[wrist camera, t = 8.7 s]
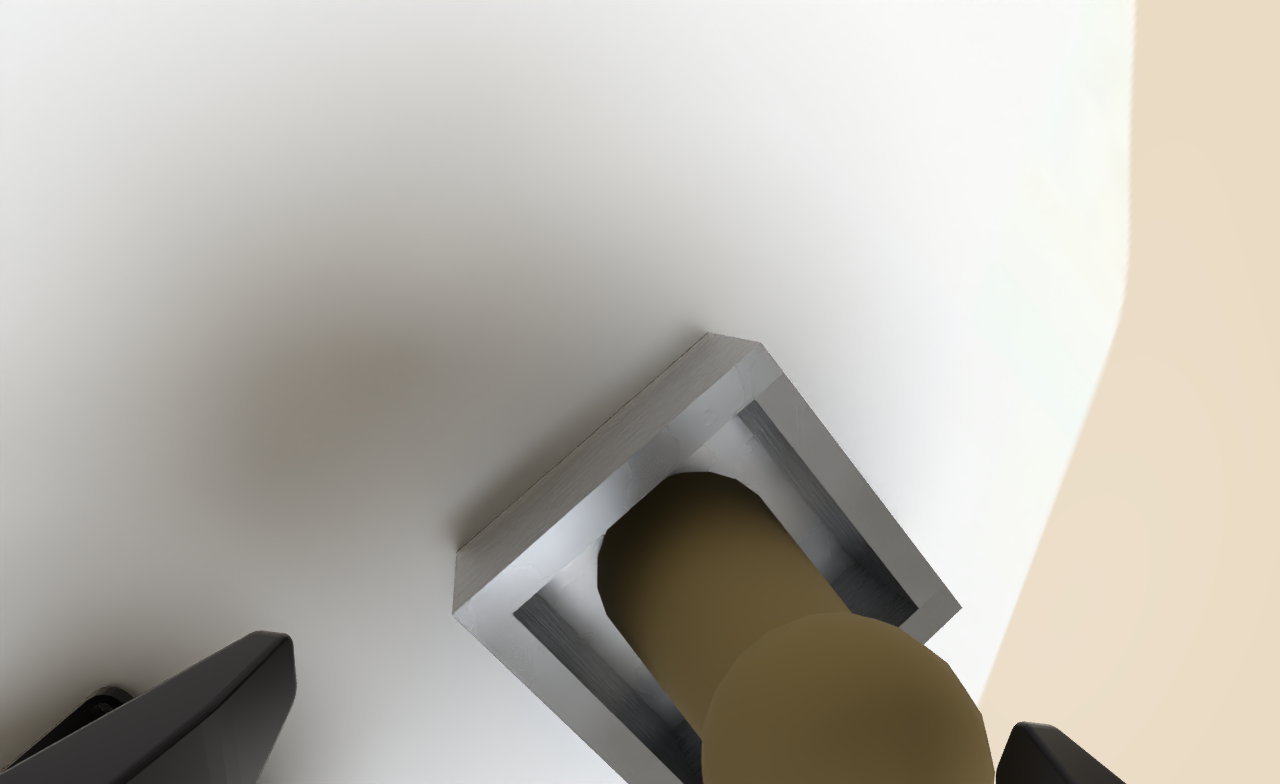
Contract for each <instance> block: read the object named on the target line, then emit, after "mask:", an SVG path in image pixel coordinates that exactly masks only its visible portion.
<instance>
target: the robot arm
mask: <svg viewBox="0 0 1280 784" xmlns="http://www.w3.org/2000/svg"><path fill="white" fill-rule="evenodd" d="M296 688H297V682H296V670H295V659H294V647H293V641H292V639H291V637H290V636H289V635H287V634H285V633H278V632H269V631H255V632H252V633H250V634H248V635H246V636H245V637H243V638H241V639H239V640H237V641H236V642H234V643H232V644H230V645H229V646H227V647H225V648H223V649H221V650H220V651H218V652H216V653H214V654H212V655H211V656H209V657H207V658H205V659H204V660H202V661H200V662H198V663H196V664H195V665H193V666H191V667H189V668H188V669H186V670H184V671H182V672H180V673H179V674H177V675H175V676H173V677H172V678H170V679H168V680H166V681H164V682H163V683H161V684H159V685H157V686H156V687H154V688H152V689H150V690H148V691H147V692H145V693H143V694H141V695H139V696H138V697H136V698H133V697H132V696H131V695H130V694H128V693H127V692H126V691H124V690H122V689H120V688H118V687H112V686H109V687H104V688H101V689H99V690H97V691H95V692H94V693H93V694H92V695H91V696H89V697H88V698H87V699H86V700H85V701H83V702H82V703H81V704H80V705H79V706H78V707H76V708H75V709H74V710H73V711H72V712H71V713H69V714H68V715H67V716H66V717H65V718H63V719H62V720H61V721H60V722H59V723H58V724H56V725H55V726H54V727H53V728H52V729H50V730H49V731H48V732H47V733H46V734H45V735H43V736H42V737H41V738H40V739H39V740H38V741H36V742H35V743H34V744H33V745H32V746H30V747H29V748H28V749H27V750H26V751H25V752H23V753H22V754H21V755H20V756H19V757H18V758H16V759H15V760H14V761H13V762H12V763H10V764H9V765H8V766H7V767H6V768H5V769H3V770H2V771H1V772H0V784H256V783H257V781H258V779H259V777H260V775H261V773H262V770H263V768H264V766H265V764H266V762H267V759H268V757H269V755H270V753H271V751H272V749H273V746H274V744H275V742H276V740H277V738H278V736H279V733H280V731H281V729H282V727H283V725H284V723H285V720H286V718H287V716H288V714H289V712H290V710H291V707H292V705H293V702H294V699H295V695H296ZM99 703H106V704H108V705H110V706H111V707H112V708H113V711H111V712H105V711H103V710H102V709H101V708H100V707H99ZM996 784H1126V783H1125V782H1123V781H1122V780H1121V779H1120V778H1118V777H1117V776H1116V775H1115V774H1113V773H1112V772H1111V771H1110V770H1108V769H1107V768H1106V767H1105V766H1103V765H1102V764H1101V763H1100V762H1098V761H1097V760H1096V759H1095V758H1094V757H1092V756H1091V755H1090V754H1089V753H1087V752H1086V751H1085V750H1084V749H1082V748H1081V747H1080V746H1079V745H1077V744H1076V743H1075V742H1074V741H1072V740H1071V739H1070V738H1069V737H1068V736H1066V735H1065V734H1063V733H1062V732H1061V731H1060V730H1059V729H1057V728H1055V727H1054V726H1051V725H1047V724H1040V723H1032V722H1019V723H1017V724H1016V725H1015V726H1014V727H1013V729H1012V731H1011V734H1010V736H1009V739H1008V741H1007V744H1006V746H1005V749H1004V752H1003V754H1002V757H1001V759H1000V762H999V764H998V767H997V771H996Z"/></svg>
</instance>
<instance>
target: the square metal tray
mask: <svg viewBox="0 0 1280 784" xmlns="http://www.w3.org/2000/svg"><path fill="white" fill-rule="evenodd" d="M690 472H713V473H716V474H720V475H723V476H726V477H730V478H733V479H737V480H738V481H740V482H741V483H742V484H744V485H745V486H747V487H748V488H749V489H751V490H752V491H754V492H755V493H756V494H758V495H759V496H760V497H761V498H762V500H763V501H764V502H765V504H766V505H767V506H768V507H769V509H770V510H771V511H772V512H773V514H774V515H775V516H776V517H777V519H778V520H779V521H780V522H781V524H782V525H783V526H784V528H785V529H786V530H787V531H788V533H789V534H790V535H791V536H792V538H793V539H794V540H795V541H796V543H797V544H798V545H799V547H800V548H801V549H802V550H803V552H804V553H805V554H806V555H807V557H808V558H809V559H810V560H811V562H812V563H813V564H814V565H815V567H816V568H817V569H818V571H819V572H820V573H821V574H822V576H823V577H824V578H825V579H826V581H827V582H828V583H829V584H830V586H831V587H832V588H833V590H834V591H835V592H836V593H837V595H838V596H839V597H840V598H841V600H842V601H843V602H844V603H845V605H846V606H847V607H848V609H849V610H850V611H851V612H852V614H856V615H860V616H864V617H868V618H873V619H877V620H879V621H882V622H885V623H888V624H891V625H893V626H896V627H899V628H900V629H901V630H903V631H904V632H906V633H907V634H909V635H910V636H911V637H913V638H914V639H916V640H917V641H918V642H920V643H921V644H923V645H924V644H925V643H926V642H927V641H928V640H929V639H930V638H931V637H932V636H933V635H934V634H935V633H936V632H937V631H938V630H939V629H940V628H941V627H943V626H944V625H945V624H946V623H947V622H948V621H949V620H950V619H951V618H952V617H953V616H954V615H955V614H956V613H957V612H958V611H959V610H960V609H961V608H962V607H961V606H960V604H959V603H958V602H957V600H956V599H955V598H954V596H953V595H952V594H951V592H950V591H949V590H948V588H947V587H946V586H945V584H944V583H943V582H942V581H941V579H940V578H939V577H938V575H937V574H936V573H935V571H934V570H933V569H932V567H931V566H930V565H929V563H928V562H927V561H926V559H925V558H924V557H923V556H922V554H921V553H920V552H919V550H918V549H917V548H916V546H915V545H914V544H913V542H912V541H911V540H910V538H909V537H908V536H907V534H906V533H905V532H904V530H903V529H902V528H901V527H900V525H899V524H898V523H897V521H896V520H895V519H894V517H893V516H892V515H891V513H890V512H889V511H888V509H887V508H886V507H885V505H884V504H883V503H882V502H881V500H880V499H879V498H878V496H877V495H876V494H875V492H874V491H873V490H872V488H871V487H870V486H869V484H868V483H867V482H866V480H865V479H864V478H863V477H862V475H861V474H860V473H859V471H858V470H857V469H856V467H855V466H854V465H853V463H852V462H851V461H850V459H849V458H848V457H847V455H846V454H845V453H844V452H843V450H842V449H841V448H840V446H839V445H838V444H837V442H836V441H835V440H834V438H833V437H832V436H831V434H830V433H829V432H828V430H827V429H826V428H825V427H824V425H823V424H822V423H821V421H820V420H819V419H818V417H817V416H816V415H815V413H814V412H813V411H812V409H811V408H810V407H809V405H808V404H807V403H806V402H805V400H804V399H803V398H802V396H801V395H800V394H799V392H798V391H797V390H796V388H795V387H794V386H793V384H792V383H791V382H790V380H789V379H788V378H787V377H786V375H785V374H784V373H783V371H782V370H781V369H780V367H779V366H778V365H777V363H776V362H775V361H774V359H773V358H772V357H771V355H770V354H769V353H768V352H767V350H766V349H765V348H764V346H763V345H762V344H761V343H759V342H754V341H749V340H744V339H739V338H734V337H729V336H724V335H719V334H714V333H709V332H708V333H707V334H706V335H705V336H704V337H703V338H702V339H700V340H699V341H698V342H697V343H696V344H695V345H694V346H692V347H691V348H690V349H689V350H688V351H687V352H686V353H684V354H683V355H682V356H681V357H680V358H679V359H678V360H676V361H675V362H674V363H673V364H672V365H671V366H670V367H668V368H667V369H666V370H665V371H664V372H663V373H662V374H660V375H659V376H658V377H657V378H656V379H655V380H654V381H652V382H651V383H650V384H649V385H648V386H647V387H645V388H644V389H643V390H642V391H641V392H640V393H639V394H637V395H636V396H635V397H634V398H633V399H632V400H631V401H629V402H628V403H627V404H626V405H625V406H624V407H623V408H621V409H620V410H619V411H618V412H617V413H616V414H615V415H613V416H612V417H611V418H610V419H609V420H608V421H607V422H605V423H604V424H603V425H602V426H601V427H600V428H599V429H597V430H596V431H595V432H594V433H593V434H592V435H591V436H589V437H588V438H587V439H586V440H585V441H584V442H583V443H581V444H580V445H579V446H578V447H577V448H576V449H575V450H573V451H572V452H571V453H570V454H569V455H568V456H566V457H565V458H564V459H563V460H562V461H561V462H560V463H558V464H557V465H556V466H555V467H554V468H553V469H552V470H550V471H549V472H548V473H547V474H546V475H545V476H544V477H542V478H541V479H540V480H539V481H538V482H537V483H536V484H534V485H533V486H532V487H531V488H530V489H529V490H528V491H526V492H525V493H524V494H523V495H522V496H521V497H520V498H518V499H517V500H516V501H515V502H514V503H513V504H512V505H510V506H509V507H508V508H507V509H506V510H505V511H504V512H502V513H501V514H500V515H499V516H498V517H497V518H496V519H494V520H493V521H492V522H491V523H490V524H489V525H487V526H486V527H485V528H484V529H483V530H482V531H481V532H479V533H478V534H477V535H476V536H475V537H474V538H473V539H471V540H470V541H469V542H468V543H467V544H466V545H465V546H463V547H462V548H461V549H460V550H459V551H458V552H457V554H456V568H455V582H454V595H453V609H452V615H453V616H454V617H455V618H456V619H457V620H458V621H459V622H460V623H461V624H462V625H463V626H464V627H465V628H466V629H467V630H468V631H469V632H470V633H471V634H472V635H473V636H474V637H476V638H477V639H478V640H479V641H480V642H481V643H482V644H483V645H484V646H485V647H486V648H487V649H488V650H489V651H490V652H491V653H492V654H493V655H494V656H495V657H496V658H497V659H499V660H500V661H501V662H502V663H503V664H504V665H505V666H506V667H507V668H508V669H509V670H510V671H511V672H512V673H513V674H514V675H515V676H516V677H517V678H518V679H519V680H520V681H522V682H523V683H524V684H525V685H526V686H527V687H528V688H529V689H530V690H531V691H532V692H533V693H534V694H535V695H536V696H537V697H538V698H539V699H540V700H541V701H542V702H543V703H544V704H546V705H547V706H548V707H549V708H550V709H551V710H552V711H553V712H554V713H555V714H556V715H557V716H558V717H559V718H560V719H561V720H562V721H563V722H564V723H565V724H566V725H567V726H569V727H570V728H571V729H572V730H573V731H574V732H575V733H576V734H577V735H578V736H579V737H580V738H581V739H582V740H583V741H584V742H585V743H586V744H587V745H588V746H589V747H590V748H592V749H593V750H594V751H595V752H596V753H597V754H598V755H599V756H600V757H601V758H602V759H603V760H604V761H605V762H606V763H607V764H608V765H609V766H610V767H611V768H612V769H613V770H615V771H616V772H617V773H618V774H619V775H620V776H621V777H622V778H623V779H624V780H625V781H626V782H627V783H628V784H703V775H702V766H701V755H702V740H701V738H700V737H699V736H698V734H697V733H696V732H695V730H694V729H693V728H692V727H691V725H690V724H689V723H688V721H687V720H686V719H685V717H684V716H683V715H682V713H681V712H680V711H679V710H678V708H677V707H676V706H675V704H674V703H673V702H672V700H671V699H670V698H669V696H668V695H667V694H666V692H665V691H664V690H663V689H662V687H661V686H660V685H659V683H658V682H657V681H656V679H655V678H654V677H653V675H652V674H651V673H650V671H649V670H648V669H647V668H646V666H645V665H644V664H643V662H642V661H641V660H640V658H639V657H638V656H637V654H636V653H635V652H634V650H633V649H632V648H631V647H630V645H629V644H628V643H627V641H626V640H625V639H624V637H623V636H622V635H621V633H620V632H619V631H618V630H617V628H616V627H615V626H614V624H613V623H612V622H611V620H610V619H609V618H608V616H607V615H606V612H605V609H604V607H603V604H602V601H601V598H600V595H599V592H598V589H597V558H598V555H599V552H600V549H601V546H602V543H603V540H604V537H605V534H606V531H607V529H608V528H610V527H611V526H612V525H613V524H614V523H615V522H616V521H617V520H619V519H620V518H621V517H622V516H623V515H624V514H625V513H626V512H628V511H629V510H630V509H631V508H632V507H633V506H634V505H635V504H637V503H638V502H639V501H640V500H641V499H642V498H643V497H644V496H646V495H647V494H648V493H649V492H650V491H651V490H652V489H653V488H655V487H656V486H657V485H658V484H659V483H660V482H661V481H662V480H664V479H665V478H668V477H670V476H673V475H676V474H678V473H690Z"/></svg>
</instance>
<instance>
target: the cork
mask: <svg viewBox="0 0 1280 784" xmlns="http://www.w3.org/2000/svg"><path fill="white" fill-rule="evenodd" d="M597 589H598V592H599V595H600V598H601V601H602V604H603V607H604V609H605V612H606V615H607V616H608V618H609V619H610V620H611V622H612V623H613V624H614V626H615V627H616V628H617V630H618V631H619V632H620V633H621V635H622V636H623V637H624V639H625V640H626V641H627V643H628V644H629V645H630V647H631V648H632V649H633V650H634V652H635V653H636V654H637V656H638V657H639V658H640V660H641V661H642V662H643V664H644V665H645V666H646V668H647V669H648V670H649V671H650V673H651V674H652V675H653V677H654V678H655V679H656V681H657V682H658V683H659V685H660V686H661V687H662V689H663V690H664V691H665V692H666V694H667V695H668V696H669V698H670V699H671V700H672V702H673V703H674V704H675V706H676V707H677V708H678V710H679V711H680V712H681V713H682V715H683V716H684V717H685V719H686V720H687V721H688V723H689V724H690V725H691V727H692V728H693V729H694V730H695V732H696V733H697V734H698V736H699V737H700V738H701V740H702V755H701V766H702V775H703V784H994V775H995V771H994V767H993V762H992V757H991V752H990V748H989V743H988V738H987V734H986V730H985V727H984V722H983V718H982V714H981V713H980V711H979V710H978V708H977V707H976V705H975V703H974V702H973V700H972V699H971V697H970V696H969V694H968V693H967V691H966V689H965V688H964V686H963V685H962V683H961V682H960V680H959V679H958V678H957V676H956V675H955V673H954V672H953V670H952V669H951V668H950V666H949V665H948V663H946V662H945V661H944V660H943V659H941V658H940V657H939V656H937V655H936V654H935V653H933V652H932V651H931V650H930V649H928V648H927V647H926V646H924V645H923V644H921V643H920V642H918V641H917V640H916V639H914V638H913V637H911V636H910V635H909V634H907V633H906V632H904V631H903V630H901V629H900V628H899V627H896V626H893V625H891V624H888V623H885V622H882V621H879V620H877V619H873V618H868V617H864V616H860V615H856V614H852V612H851V611H850V610H849V609H848V607H847V606H846V605H845V603H844V602H843V601H842V600H841V598H840V597H839V596H838V595H837V593H836V592H835V591H834V590H833V588H832V587H831V586H830V584H829V583H828V582H827V581H826V579H825V578H824V577H823V576H822V574H821V573H820V572H819V571H818V569H817V568H816V567H815V565H814V564H813V563H812V562H811V560H810V559H809V558H808V557H807V555H806V554H805V553H804V552H803V550H802V549H801V548H800V547H799V545H798V544H797V543H796V541H795V540H794V539H793V538H792V536H791V535H790V534H789V533H788V531H787V530H786V529H785V528H784V526H783V525H782V524H781V522H780V521H779V520H778V519H777V517H776V516H775V515H774V514H773V512H772V511H771V510H770V509H769V507H768V506H767V505H766V504H765V502H764V501H763V500H762V498H761V497H760V496H759V495H758V494H756V493H755V492H754V491H752V490H751V489H749V488H748V487H747V486H745V485H744V484H742V483H741V482H740V481H738V480H737V479H733V478H730V477H726V476H723V475H720V474H716V473H713V472H690V473H678V474H676V475H673V476H670V477H668V478H665V479H664V480H662V481H661V482H660V483H659V484H658V485H657V486H656V487H655V488H653V489H652V490H651V491H650V492H649V493H648V494H647V495H646V496H644V497H643V498H642V499H641V500H640V501H639V502H638V503H637V504H635V505H634V506H633V507H632V508H631V509H630V510H629V511H628V512H626V513H625V514H624V515H623V516H622V517H621V518H620V519H619V520H617V521H616V522H615V523H614V524H613V525H612V526H611V527H610V528H608V529H607V531H606V534H605V537H604V540H603V543H602V546H601V549H600V552H599V555H598V558H597Z"/></svg>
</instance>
